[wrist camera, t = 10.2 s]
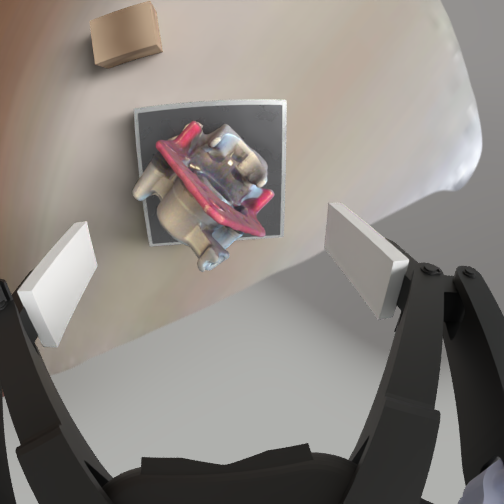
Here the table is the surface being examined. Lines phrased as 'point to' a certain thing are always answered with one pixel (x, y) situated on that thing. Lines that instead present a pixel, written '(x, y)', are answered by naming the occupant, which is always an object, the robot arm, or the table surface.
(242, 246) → the table surface
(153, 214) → the stand
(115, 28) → the brown rectangular block
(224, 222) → the brake caliper
